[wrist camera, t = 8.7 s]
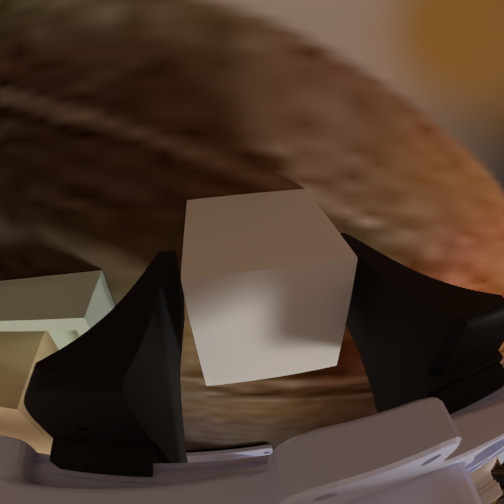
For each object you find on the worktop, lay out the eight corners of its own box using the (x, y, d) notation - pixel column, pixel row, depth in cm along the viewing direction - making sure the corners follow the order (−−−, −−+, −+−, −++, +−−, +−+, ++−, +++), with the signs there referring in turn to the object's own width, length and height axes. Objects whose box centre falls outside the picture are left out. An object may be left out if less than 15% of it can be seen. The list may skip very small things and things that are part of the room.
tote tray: (160, 408, 19) (159, 448, 16) (-23, 396, 17) (-32, 423, 14) (102, 270, 13) (84, 317, 10) (-96, 290, 11) (-116, 318, 9)
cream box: (300, 281, 15) (336, 365, 10) (202, 293, 14) (206, 386, 10) (304, 188, 12) (357, 257, 8) (186, 199, 12) (180, 279, 8)
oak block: (82, 386, 16) (69, 459, 12) (21, 383, 16) (3, 446, 11) (46, 328, 13) (17, 409, 9) (-17, 329, 13) (-49, 396, 9)
